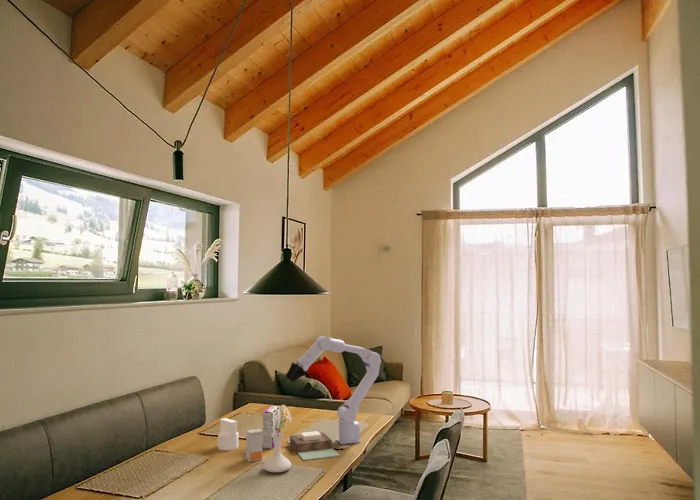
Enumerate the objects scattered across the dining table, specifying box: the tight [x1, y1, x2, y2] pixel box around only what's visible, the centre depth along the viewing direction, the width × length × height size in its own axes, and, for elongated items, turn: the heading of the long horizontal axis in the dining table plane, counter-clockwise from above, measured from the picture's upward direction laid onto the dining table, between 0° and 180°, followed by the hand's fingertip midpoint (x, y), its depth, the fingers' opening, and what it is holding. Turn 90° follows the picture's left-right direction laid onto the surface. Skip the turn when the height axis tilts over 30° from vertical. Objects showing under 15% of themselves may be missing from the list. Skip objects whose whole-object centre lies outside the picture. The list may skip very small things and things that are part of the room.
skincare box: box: [245, 428, 263, 463], centre depth 223 cm, size 6×4×12 cm
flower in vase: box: [262, 404, 293, 473], centre depth 212 cm, size 13×11×25 cm
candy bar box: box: [262, 405, 281, 450], centre depth 243 cm, size 11×5×16 cm, turn 168°
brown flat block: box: [289, 431, 333, 453], centre depth 240 cm, size 16×13×4 cm
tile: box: [300, 430, 321, 441], centre depth 239 cm, size 8×6×2 cm
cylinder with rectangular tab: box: [217, 417, 239, 451], centre depth 240 cm, size 9×9×12 cm
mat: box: [296, 447, 341, 462], centre depth 229 cm, size 16×10×1 cm, turn 110°
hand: (288, 379), depth 240 cm, fingers open, 7 cm apart
